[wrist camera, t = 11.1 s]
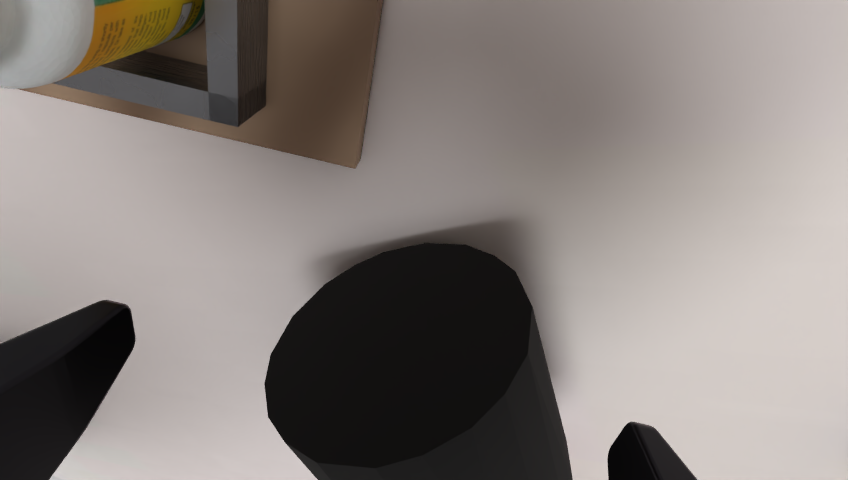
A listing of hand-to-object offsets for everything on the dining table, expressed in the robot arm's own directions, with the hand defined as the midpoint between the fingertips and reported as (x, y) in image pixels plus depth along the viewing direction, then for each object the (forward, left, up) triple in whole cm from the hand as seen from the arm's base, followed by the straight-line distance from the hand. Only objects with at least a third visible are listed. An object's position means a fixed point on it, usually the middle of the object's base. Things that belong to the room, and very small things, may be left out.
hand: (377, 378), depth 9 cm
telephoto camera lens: (+8, -20, -14) cm, 26 cm away
